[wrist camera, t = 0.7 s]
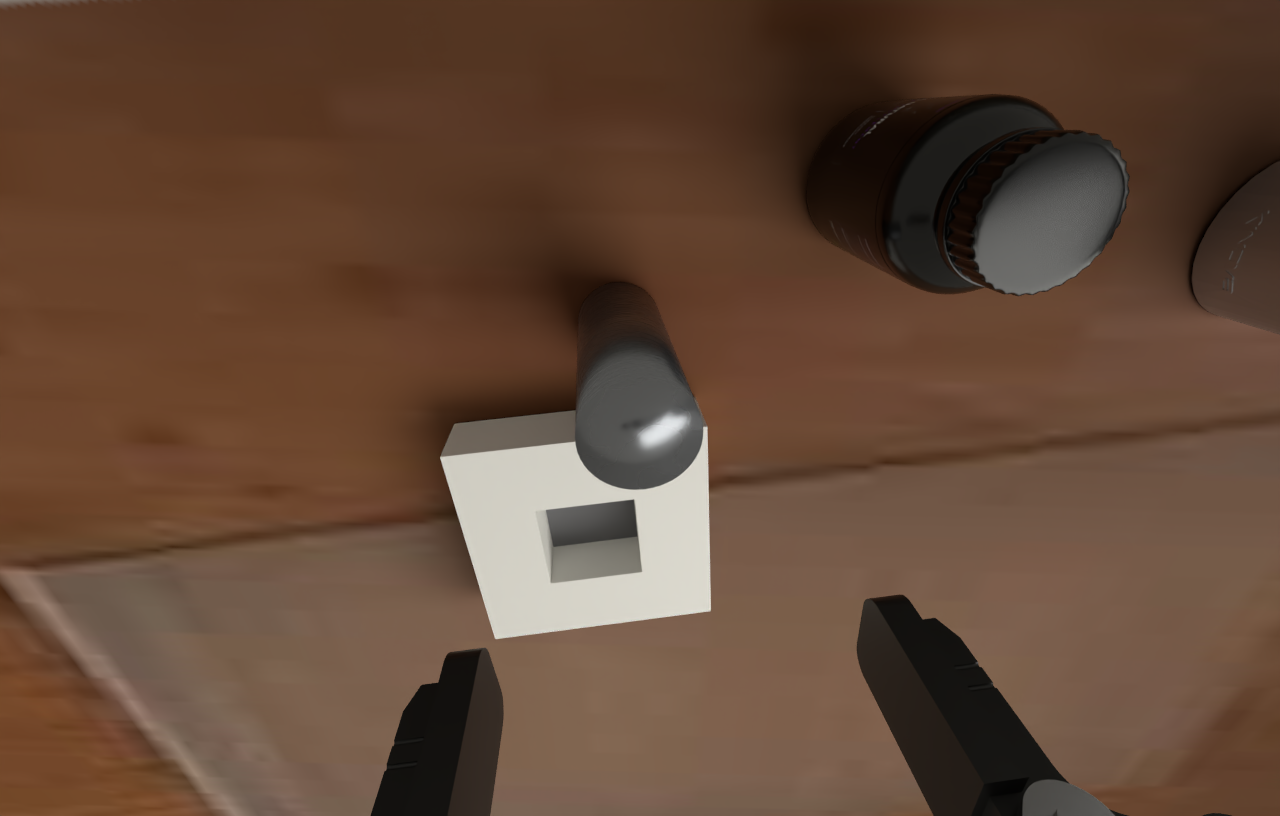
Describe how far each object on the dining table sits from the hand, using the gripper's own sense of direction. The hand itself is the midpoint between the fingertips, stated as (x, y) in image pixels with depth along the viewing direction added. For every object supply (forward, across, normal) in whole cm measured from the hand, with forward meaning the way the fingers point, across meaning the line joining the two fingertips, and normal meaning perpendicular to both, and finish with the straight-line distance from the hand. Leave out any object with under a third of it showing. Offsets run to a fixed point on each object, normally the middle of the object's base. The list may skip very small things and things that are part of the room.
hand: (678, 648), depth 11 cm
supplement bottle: (+20, -13, -6) cm, 25 cm away
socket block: (+20, +3, +12) cm, 23 cm away
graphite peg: (+20, 0, 0) cm, 20 cm away
